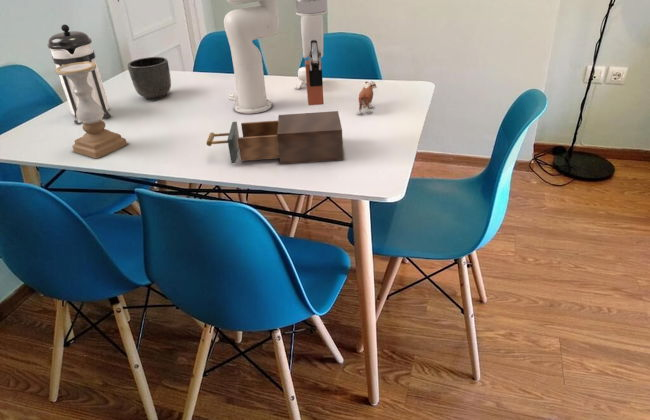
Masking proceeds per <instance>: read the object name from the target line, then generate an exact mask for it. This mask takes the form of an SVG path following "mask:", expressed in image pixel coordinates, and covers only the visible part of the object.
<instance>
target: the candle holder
mask: <svg viewBox="0 0 650 420" xmlns="http://www.w3.org/2000/svg"><path fill="white" fill-rule="evenodd" d="M95 68H96V64H95V63H93V62H77V63H71V64H66V65H63V66H60V67H58V68H55V71H54V72H55V74H56V75H58V76H59V75H62V76H67V77H68V78H69V79H70V80H72V82H73V83H74V89H73V93H74V94H75V95H76V96H77V97H78V98H79V104H78V107H77V111H76V117H77V119H78V120H79V121H81V123H83V125H82V130H83V132H85V133H84V134H83V135H82V136H81V137H79V138H77V139H75V140H74V144H72V149H73V152H74V153H77V154H79V155H83V156H86V157H90V158H93V159H100V158H101V157H104V156H106V155H108V154H111V153H113V152H115V151H117V150H119V149H122V148H123V147H125V146H127V145H128V141H127V139H126V138H124V137H123V136H122V135H121V134H119V133H118V132H114V131H111V130H110V129H106V123H105V121H103V120H102V119H103V118H104V111H103V109H102V107H101V106H100V105H98V104H97V103H96V102H95V101H94V100H93V99H92V97H91V93H92V90H93V88H92V87H91V86H90V85H89V84H88V82H87V76H88V72H90V71H93V70H94V69H95Z"/></svg>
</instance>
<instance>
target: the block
mask: <svg viewBox="0 0 650 420" xmlns="http://www.w3.org/2000/svg"><path fill="white" fill-rule="evenodd" d="M312 61H313V60H311V62H312ZM320 61H321V69H322V70H323V64H322V58H321V59H320ZM304 67H306V81H307V85H306V95H307V106H322V105H323V106H324V104H325V103H324V101H325V100H324V84H323V85H322V86H313V87H311V86H310V78H309V70H310V63H309V59H304Z"/></svg>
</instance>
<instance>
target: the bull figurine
mask: <svg viewBox="0 0 650 420" xmlns="http://www.w3.org/2000/svg"><path fill="white" fill-rule="evenodd" d="M364 84H365V85H364V87H362V88H361V91H360V92H359V95H358V105H359V106H358V111H359V112H358V115H362V108H365V111H366V113H368V114H371V110H370V109H372V108H373V106H372V103H373V102H372V101H373V98H374V89H377V87H378V86H377V84H376V82H375V81H374V80H372V79H371V80H369V81H365V82H364Z"/></svg>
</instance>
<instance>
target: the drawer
mask: <svg viewBox="0 0 650 420" xmlns="http://www.w3.org/2000/svg"><path fill="white" fill-rule="evenodd" d="M240 127H241V134H242V136H241V137H240V134H239V129H238V122H237V121H232V122H231V126H230V129H229V132H224V133H223V132H222V133H221V132H220V133H214V132H213V131H212V132H210V133H209V135H208V137H207V139H206V142H205V143H206V145H207V146H208V147H211V146H212V145H219V144H220V145H221V144H227V145H228V153H229V158H230V164H237V160H238V156H239V157H240V161H243V162H244V161H255V160H257V161H258V160H271V159H280V155H279V146H278V137H277V130H278V120H267V121H266V120H265V121H264V120H263V121H250V122H248V121H247V122H241V123H240ZM216 137H227V140H215V138H216Z"/></svg>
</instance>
